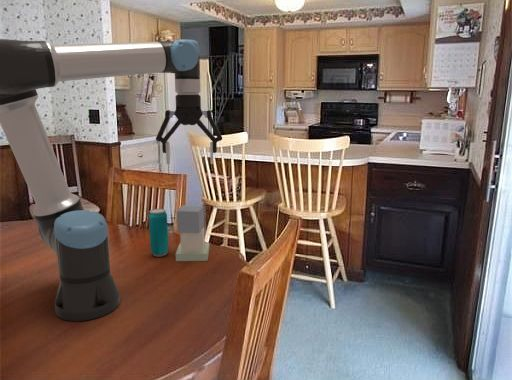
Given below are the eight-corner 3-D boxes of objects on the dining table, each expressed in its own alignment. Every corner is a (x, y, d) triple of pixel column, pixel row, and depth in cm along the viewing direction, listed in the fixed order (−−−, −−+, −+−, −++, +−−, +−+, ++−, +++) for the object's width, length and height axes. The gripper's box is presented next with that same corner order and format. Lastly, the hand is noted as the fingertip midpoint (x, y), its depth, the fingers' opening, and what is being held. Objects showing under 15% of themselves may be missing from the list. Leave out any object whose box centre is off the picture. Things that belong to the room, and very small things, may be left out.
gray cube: (199, 233, 131) (198, 211, 130) (177, 232, 132) (176, 211, 131) (204, 226, 138) (203, 205, 137) (183, 225, 139) (182, 205, 137)
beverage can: (169, 250, 143) (167, 208, 140) (167, 256, 137) (165, 212, 134) (152, 251, 142) (149, 208, 139) (150, 257, 137) (147, 213, 133)
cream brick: (203, 251, 135) (202, 231, 134) (181, 252, 135) (180, 231, 133) (204, 244, 142) (204, 224, 140) (183, 244, 142) (183, 224, 140)
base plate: (207, 260, 134) (207, 253, 134) (175, 261, 134) (175, 253, 133) (209, 249, 144) (209, 242, 143) (179, 249, 144) (179, 242, 143)
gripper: (229, 94, 131) (230, 161, 136) (148, 93, 130) (152, 161, 135) (229, 94, 124) (229, 165, 129) (143, 93, 123) (147, 165, 128)
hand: (190, 163), depth 132 cm, fingers open, 13 cm apart
